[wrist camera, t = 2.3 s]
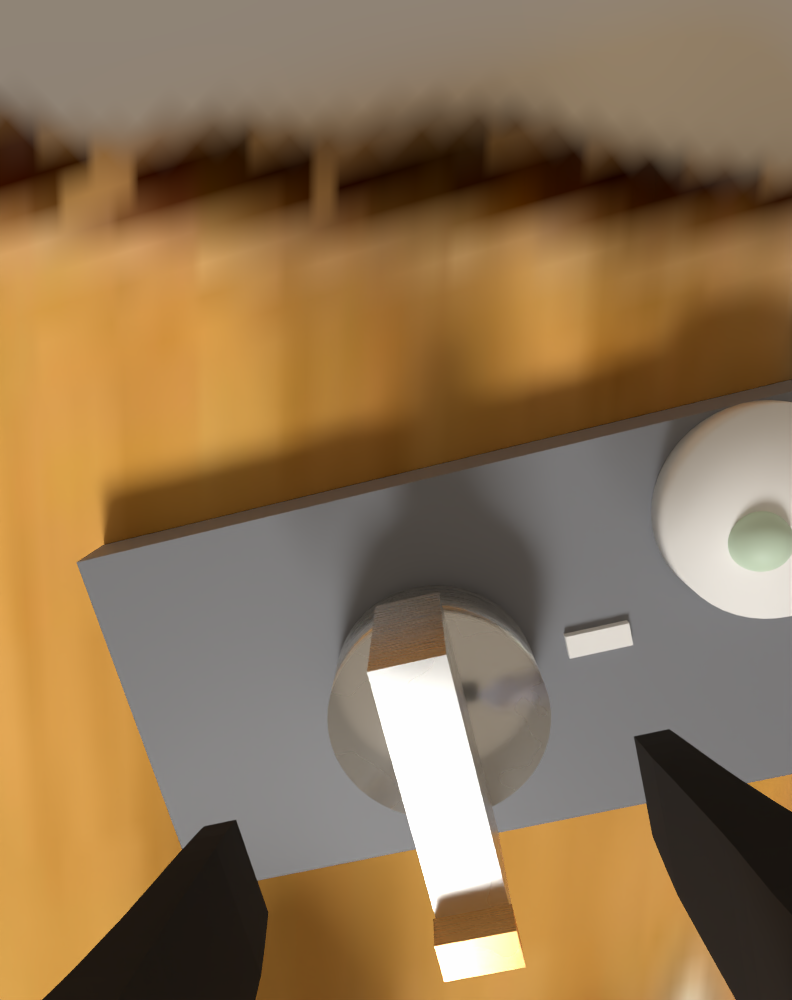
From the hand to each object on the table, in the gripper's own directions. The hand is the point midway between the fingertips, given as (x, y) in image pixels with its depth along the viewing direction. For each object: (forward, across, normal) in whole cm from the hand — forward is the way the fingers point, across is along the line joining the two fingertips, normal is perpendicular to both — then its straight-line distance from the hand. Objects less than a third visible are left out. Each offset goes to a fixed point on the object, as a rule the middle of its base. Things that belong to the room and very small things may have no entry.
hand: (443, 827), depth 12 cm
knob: (+5, 0, 0) cm, 5 cm away
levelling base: (+7, -2, 0) cm, 8 cm away
